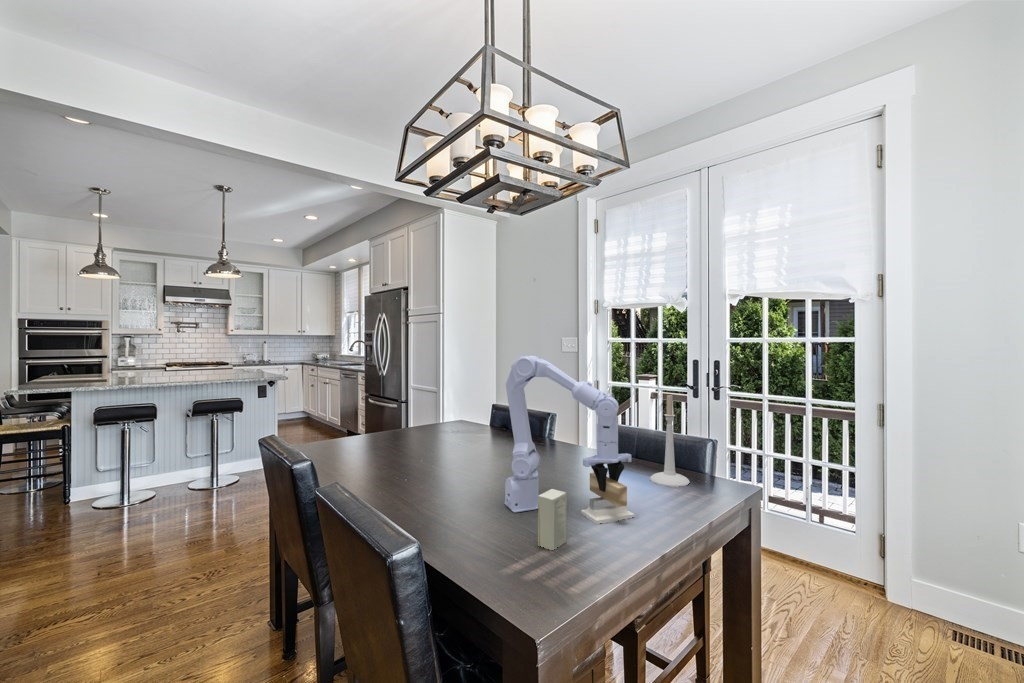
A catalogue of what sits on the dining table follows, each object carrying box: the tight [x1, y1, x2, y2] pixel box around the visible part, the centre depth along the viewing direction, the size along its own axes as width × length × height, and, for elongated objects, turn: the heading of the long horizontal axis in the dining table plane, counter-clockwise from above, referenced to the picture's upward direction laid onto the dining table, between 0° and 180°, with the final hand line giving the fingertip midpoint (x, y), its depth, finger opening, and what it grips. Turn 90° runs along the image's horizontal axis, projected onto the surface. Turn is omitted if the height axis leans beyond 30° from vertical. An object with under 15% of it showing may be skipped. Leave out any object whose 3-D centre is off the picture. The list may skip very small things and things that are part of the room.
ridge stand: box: [580, 496, 635, 525], centre depth 125 cm, size 12×8×5 cm, turn 112°
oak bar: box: [589, 472, 628, 507], centre depth 125 cm, size 3×14×5 cm, turn 22°
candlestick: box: [649, 394, 690, 488], centre depth 155 cm, size 13×13×30 cm
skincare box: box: [537, 488, 567, 551], centre depth 107 cm, size 6×4×12 cm
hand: (607, 489), depth 125 cm, fingers closed on oak bar, 3 cm apart
